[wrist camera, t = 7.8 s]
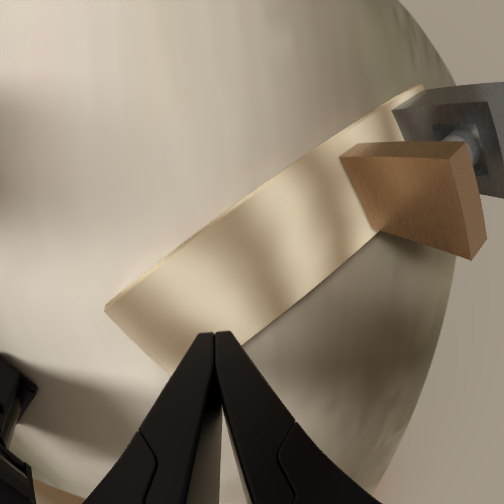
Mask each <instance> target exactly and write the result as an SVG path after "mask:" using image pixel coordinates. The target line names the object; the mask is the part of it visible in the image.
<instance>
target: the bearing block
mask: <svg viewBox="0 0 504 504" xmlns="http://www.w3.org/2000/svg"><path fill="white" fill-rule="evenodd" d="M391 111H392V113H393V115H394V117H395V120H396V122H397V124H398V126H399V129H400V131H401V133H402V136H403V138H404V141H442V140H443V139H444V138H445V137H447V136H448V135H449V134H450V133H451V132H452V131H453V130H454V129H455V128H456V127H457V126H458V125H460V124H476V126H477V130H478V133H479V136H480V140H481V144H482V147H483V151H484V154H483V155H482V156H481V158H480V159H479V160H478V161H477V163H476V164H475V165H474V166H473V168H474V172H475V176H476V181H477V185H478V190H479V194H482V195H488V196H493V197H498V198H504V82H494V83H481V84H470V85H460V86H452V87H444V88H437V89H430V90H423V91H421V92H419V93H417V94H416V95H414V96H413V97H411V98H410V99H408V100H406V101H405V102H403V103H402V104H400V105H399V106H397V107H396V108H394V109H393V110H391Z"/></svg>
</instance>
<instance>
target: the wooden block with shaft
mask: <svg viewBox="0 0 504 504" xmlns="http://www.w3.org/2000/svg"><path fill="white" fill-rule="evenodd" d="M483 154H484V151H483V147H482V144H481V140H480V136H479V133H478V130H477V126H476V124H460V125H458V126H457V127H456V128H455V129H454V130H453V131H452V132H451V133H450V134H449V135H448V136H447V137H445V138H444V139H443V140H442V141H397V142H372V143H358V144H356V145H355V146H353V147H352V148H351V149H349V150H348V151H346V152H345V153H343V154H342V155H341V156H339V159H340V161H341V163H342V165H343V167H344V169H345V171H346V173H347V175H348V177H349V179H350V181H351V183H352V185H353V187H354V189H355V192H356V194H357V196H358V198H359V200H360V202H361V205H362V207H363V209H364V211H365V213H366V216H367V218H368V220H369V223H370V225H371V227H372V228H373V229H376V230H379V231H383V232H386V233H389V234H393V235H396V236H399V237H402V238H405V239H409V240H412V241H415V242H418V243H421V244H424V245H427V246H430V247H433V248H436V249H439V250H442V251H445V252H448V253H451V254H454V255H457V256H460V257H463V258H466V259H468V260H471V261H472V259H473V258H474V256H475V255H476V254H477V252H478V251H479V249H480V248H481V247H482V245H483V244H484V242H485V241H486V240H487V236H486V229H485V222H484V216H483V210H482V205H481V199H480V194H479V190H478V185H477V181H476V176H475V172H474V168H473V166H474V165H475V164H476V163H477V161H478V160H479V159H480V158H481V156H482V155H483Z"/></svg>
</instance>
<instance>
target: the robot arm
mask: <svg viewBox="0 0 504 504" xmlns="http://www.w3.org/2000/svg"><path fill="white" fill-rule="evenodd" d="M31 388H32V389H33V390H32V389H31ZM37 391H38V387H37V386H36V385H35V384H34V383H33V382H31V381H30V380H29V379H27V378H26V377H25V376H23V375H22V374H21V373H19V372H18V371H17V370H15V369H14V368H13V367H12V366H10V365H9V364H8V363H7V362H5V361H4V360H3V359H2V358H1V357H0V504H36V499H35V493H34V487H33V479H32V470H31V466H30V465H28V464H27V463H26V462H23V461H22V460H20V459H19V458H18V457H17V456H15V455H14V454H13V453H12V452H11V451H9V446H10V443H11V439H12V436H13V433H14V429H15V426H16V424H17V423H18V421H19V420H20V418H21V416H22V415H23V413H24V412H25V410H26V409H27V407H28V406H29V404H30V403H31V401H32V400H33V398H34V397H35V395H36V394H37ZM222 407H223V412H224V417H225V421H226V425H227V429H228V433H229V437H230V441H231V445H232V449H233V453H234V457H235V461H236V464H237V468H238V472H239V475H240V479H241V483H242V486H243V490H244V493H245V497H246V500H247V504H382V503H380V502H379V501H378V500H376V499H375V498H374V497H372V496H371V495H370V494H369V493H368V492H366V491H365V490H364V489H363V488H362V487H360V486H359V485H358V484H357V483H356V482H355V481H353V480H352V479H351V478H350V477H349V476H348V475H346V474H345V473H344V472H343V471H342V470H341V469H340V468H339V467H337V466H336V465H335V464H334V463H333V462H332V461H331V460H330V459H329V458H328V457H327V456H326V455H325V454H324V453H323V452H322V451H321V450H320V449H319V448H318V447H317V446H316V444H315V443H314V442H313V441H312V440H311V439H310V437H309V436H308V435H307V434H306V433H305V431H304V430H303V429H302V428H301V426H300V425H299V424H298V422H295V419H294V417H293V416H292V415H291V413H290V412H289V411H288V410H287V408H286V407H285V406H284V404H283V403H282V402H281V400H280V399H279V398H278V396H277V395H276V393H275V392H274V391H273V389H272V388H271V387H270V385H269V384H268V383H267V381H266V380H265V378H264V377H263V376H262V374H261V373H260V372H259V370H258V369H257V367H256V366H255V365H254V363H253V362H252V360H251V359H250V357H249V356H248V355H247V353H246V352H245V350H244V349H243V347H242V346H241V345H240V343H239V342H238V340H237V339H236V337H235V336H234V334H233V333H232V332H231V331H229V330H228V331H217V332H215V334H214V333H213V332H202V333H198V334H197V336H196V337H195V339H194V341H193V342H192V344H191V345H190V347H189V349H188V350H187V352H186V353H185V355H184V357H183V358H182V360H181V361H180V363H179V365H178V366H177V368H176V369H175V371H174V373H173V374H172V376H171V377H170V379H169V381H168V382H167V384H166V385H165V387H164V389H163V390H162V392H161V394H160V395H159V397H158V398H157V400H156V402H155V403H154V405H153V406H152V408H151V410H150V411H149V413H148V414H147V416H146V418H145V419H144V421H143V422H142V424H141V426H140V427H139V431H140V432H139V431H137V432H136V433H135V435H134V437H133V438H132V440H131V442H130V443H129V445H128V446H127V448H126V449H125V451H124V452H123V454H122V455H121V457H120V458H119V460H118V461H117V462H116V463H115V465H114V466H113V467H112V468H111V470H110V471H109V472H108V474H107V475H106V476H105V477H104V478H103V480H102V481H101V482H100V483H99V484H98V486H97V487H96V488H95V489H94V490H93V492H92V493H91V494H90V495H89V496H88V497H87V499H86V500H85V501H84V502H83V503H82V504H219V488H220V460H221V436H222Z"/></svg>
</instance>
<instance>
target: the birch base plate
mask: <svg viewBox="0 0 504 504" xmlns="http://www.w3.org/2000/svg"><path fill="white" fill-rule="evenodd" d="M423 90H425V89H424V87H423V85H422V84H420V85H414V86H413V87H411V88H409V89H408V90H406V91H404V92H403V93H401V94H399V95H398V96H396V97H394V98H393V99H391V100H390V101H388V102H386V103H385V104H383V105H381V106H380V107H378V108H377V109H375V110H373V111H372V112H370V113H369V114H367V115H366V116H364V117H362V118H361V119H359V120H358V121H356V122H355V123H353V124H351V125H350V126H348V127H347V128H345V129H344V130H342V131H341V132H339V133H338V134H336V135H335V136H333V137H332V138H330V139H328V140H327V141H325V142H324V143H322V144H321V145H319V146H318V147H316V148H315V149H313V150H312V151H311V152H309V153H308V154H306V155H305V156H303V157H302V158H300V159H299V160H297V161H296V162H294V163H293V164H291V165H290V166H289V167H287V168H286V169H284V170H283V171H281V172H280V173H278V174H277V175H276V176H274V177H273V178H271V179H270V180H268V181H267V182H266V183H264V184H263V185H261V186H260V187H259V188H257V189H256V190H254V191H253V192H252V193H250V194H249V195H247V196H246V197H245V198H243V199H242V200H240V201H239V202H238V203H236V204H235V205H234V206H232V207H231V208H229V209H228V210H227V211H225V212H224V213H223V214H221V215H220V216H219V217H217V218H216V219H214V220H213V221H212V222H210V223H209V224H208V225H206V226H205V227H204V228H202V229H201V230H200V231H198V232H197V233H196V234H194V235H193V236H192V237H191V238H189V239H188V240H187V241H185V242H184V243H183V244H181V245H180V246H179V247H177V248H176V249H175V250H174V251H172V252H171V253H170V254H168V255H167V256H166V257H165V258H163V259H162V260H161V261H159V262H158V263H157V264H156V265H154V266H153V267H152V268H151V269H149V270H148V271H147V272H145V273H144V274H143V275H142V276H140V277H139V278H138V279H137V280H135V281H134V282H133V283H132V284H130V285H129V286H128V287H127V288H126V289H124V290H123V291H122V292H121V293H119V294H118V295H117V296H116V297H115V298H113V299H112V300H111V301H110V302H108V303H107V304H106V306H105V310H104V312H105V313H106V314H107V315H108V316H109V317H110V318H111V319H112V320H113V321H114V322H115V323H116V324H117V325H118V326H119V327H120V328H121V329H122V330H123V332H124V333H125V334H126V335H127V336H128V337H129V338H130V339H131V340H132V341H134V342H135V343H136V344H137V345H138V346H139V347H140V348H141V349H142V350H143V351H144V352H145V353H146V354H147V355H148V356H149V357H150V358H151V359H152V360H153V361H155V362H156V363H157V364H158V365H159V366H160V367H161V368H162V369H163V370H164V371H166V372H167V373H168V374H169V375H170V376H172V374H173V373H174V371H175V369H176V368H177V366H178V365H179V363H180V361H181V360H182V358H183V357H184V355H185V353H186V352H187V350H188V349H189V347H190V345H191V344H192V342H193V341H194V339H195V337H196V336H197V334H198V333H202V332H213V333H214V334H215V332H217V331H228V330H229V331H231V332H232V333H233V334H234V336H235V337H236V339H237V340H238V342H239V343H240V345H242V344H244V343H245V342H246V341H248V340H249V339H250V338H252V337H253V336H254V335H255V334H257V333H258V332H259V331H261V330H262V329H263V328H265V327H266V326H267V325H268V324H270V323H271V322H272V321H273V320H275V319H276V318H277V317H279V316H280V315H281V314H282V313H284V312H285V311H286V310H287V309H289V308H290V307H291V306H292V305H294V304H295V303H296V302H297V301H298V300H300V299H301V298H302V297H303V296H305V295H306V294H307V293H308V292H309V291H311V290H312V289H313V288H314V287H316V286H317V285H318V284H319V283H320V282H321V281H323V280H324V279H325V278H326V277H327V276H329V275H330V274H331V273H332V272H333V271H334V270H336V269H337V268H338V267H339V266H340V265H341V264H343V263H344V262H345V261H346V260H347V259H348V258H350V257H351V256H352V255H353V254H354V253H355V252H356V251H358V250H359V249H360V248H361V247H362V246H363V245H364V244H365V243H367V242H368V241H369V240H370V239H371V238H372V237H373V236H374V235H375V234H377V233H378V232H379V230H376V229H373V228H372V227H371V225H370V223H369V220H368V218H367V216H366V213H365V211H364V209H363V207H362V205H361V202H360V200H359V198H358V196H357V194H356V192H355V189H354V187H353V185H352V183H351V181H350V179H349V177H348V175H347V173H346V171H345V169H344V167H343V165H342V163H341V161H340V159H339V156H341V155H342V154H343V153H345V152H346V151H348V150H349V149H351V148H352V147H353V146H355V145H356V144H358V143H372V142H397V141H404V138H403V136H402V133H401V131H400V129H399V126H398V124H397V122H396V120H395V117H394V115H393V113H392V111H391V110H393V109H394V108H396V107H397V106H399V105H400V104H402V103H403V102H405V101H406V100H408V99H410V98H411V97H413V96H414V95H416V94H417V93H419V92H421V91H423Z"/></svg>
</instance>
